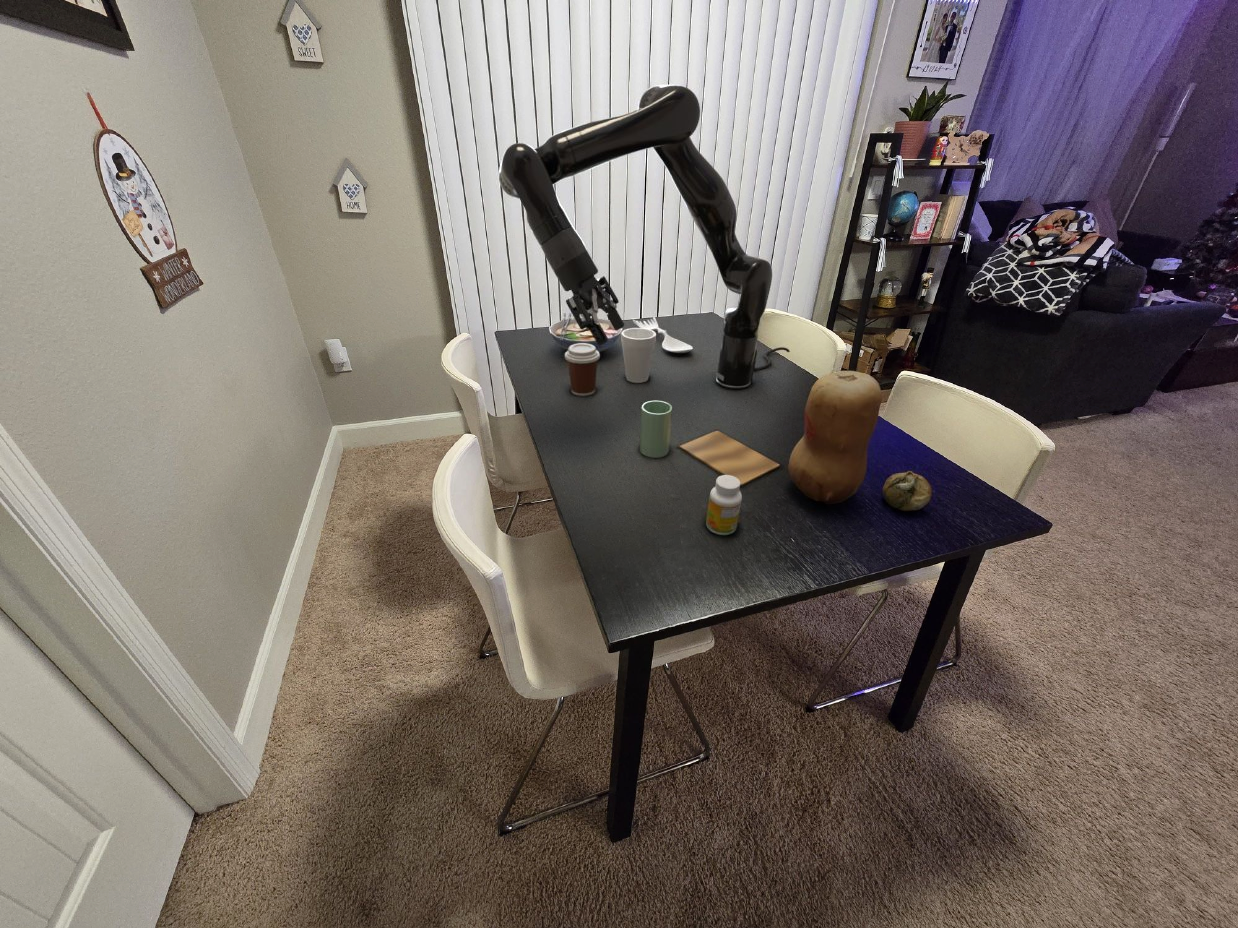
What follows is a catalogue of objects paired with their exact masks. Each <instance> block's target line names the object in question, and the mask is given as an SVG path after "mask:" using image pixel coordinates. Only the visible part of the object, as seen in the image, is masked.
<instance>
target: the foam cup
mask: <svg viewBox="0 0 1238 928" xmlns="http://www.w3.org/2000/svg"><path fill="white" fill-rule="evenodd" d="M620 342H621V347H622V356H623V364H624V372H625V373H624V375H625V379H626V381H628V382H630V383H635V384H638V383H639V384H641V383H645V382H647V381H648V380H649V376H650V372H651V367H652V362H653V356H654V350H655V346H656V343H657V332H656V331H652V330H650V329H645V328H640V327H631V328H630V327H629V328H627V329H626V328H625V329H624V330H622V331H621V333H620Z"/></svg>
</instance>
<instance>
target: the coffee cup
mask: <svg viewBox="0 0 1238 928" xmlns="http://www.w3.org/2000/svg"><path fill="white" fill-rule="evenodd" d="M568 349H569V350H566V352H564V359H565V360H566V361H567V365H568V366H567V367H568V373H569V380H570V389H571V393H572V394H573V395H576V396H580V397H585V396H586V397H587V396H590V395H593V394H594V393H595V392H596V384H597V367H598V360H600V357H601V354H600V352H598V351H597V350H596V348H595V346H593V345H591V344H586V343H578V344H573V345H571V346H570V347H569V348H568Z"/></svg>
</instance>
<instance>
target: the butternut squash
mask: <svg viewBox="0 0 1238 928" xmlns="http://www.w3.org/2000/svg"><path fill="white" fill-rule="evenodd" d="M882 402H883V396H882V390H881V386H880V383H879V382H878V380H876V379H875V378H874V377H873V376H871V375H870V374H868V373H864V372H860V371H855V370H838V371H834V372H831V373H827V374H824V375H822V376H821V377H819V378H817V380H816V381H815V382H814V384H813V385H812V386H811V389H810V392H809V395H808V397H807V401H806V404H805V407H804V420H803V421H804V422H803V423H804V427H803V428H804V432H803V433H804V434H803V436H802V438H800V439H799V441H797V443H796V445H795V446H794V447H793V450H792V452H791V453H790V457H789V460H788V464H787V471H788V475H789V477H790V480H791V482H792V483H794V485H795V486H796V487H797V488H798V489H799V490H800V491H801V492H802V493H803V495H804V496H806V497H807V498H809V499H811V500H814V501H816V502H822V503H825V504H826V505H834V504H839V503H843V502H844V501H846V500H847V499H849V498H851V497H853V495H855V494H856V493H857V492H858V491H859V489H860V488H861V485H862V484H863V482H864V480H865V479H866V478H865V477H866V475H867V467H868V465H867V464H868V446H869V443H870V440H871V437H872V436H873V433H874V431H875V430H876V427H877V423H878V420H879V419H878V418H879V413H880V409H881V404H882Z"/></svg>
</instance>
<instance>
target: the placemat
mask: <svg viewBox="0 0 1238 928" xmlns="http://www.w3.org/2000/svg"><path fill="white" fill-rule="evenodd" d="M678 448H679V449H680V450H682V451H684V452H685V453H687V454H689V455H690V456H692V457H693V458H695V459H696V460H698V461H700V462H701V463H703V464H704V465H706V466H708V467H709V468H711V469H712V470H714V471H716V472H717V473H718V474H721V476H722V475H731V476H734V477H736V478H738V479H739V481H740V487H743V486H745V485H747V484H748V483H750V482H753V481H754V480H757V479H759V478H761V477H763V476H765V475H767V474H769V473H770V472H772V471H774V470H776V469H778V468H780V467H781V464H779V463H778V462H776V461H774V460H773V459H770V458H768V457H767V456H765V455H763V454H761V453H759V452H757V451H755V450H754V449H752V448H750V447H749V446H747V445H745V444H743V443H741V442H739V441H738V440H736V439H734V438H732V437H730V436H728V435H726V434H725V433H723V432H721V431H719V430H715V431H713V432H710V433H708V434H705V435H703V436H701V437H698V438H695V439H693V440H691V441H688V442H686V443H683V444H681V445H679V447H678Z"/></svg>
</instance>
